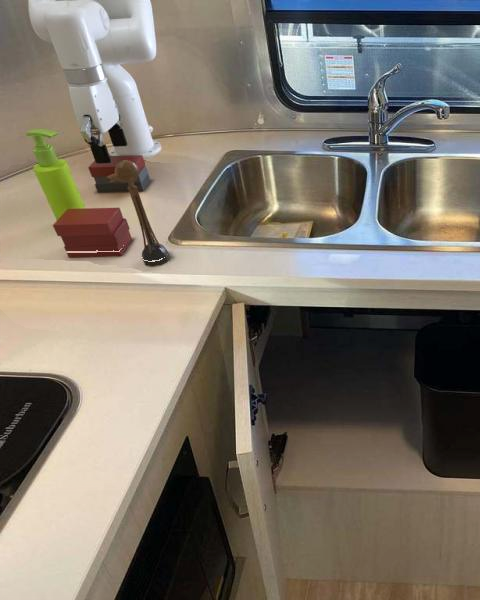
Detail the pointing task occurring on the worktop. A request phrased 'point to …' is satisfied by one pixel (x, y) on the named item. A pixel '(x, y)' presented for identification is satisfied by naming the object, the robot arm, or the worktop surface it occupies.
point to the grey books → (119, 186)
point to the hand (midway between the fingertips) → (112, 154)
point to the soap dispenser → (54, 175)
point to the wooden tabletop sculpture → (140, 214)
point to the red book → (114, 165)
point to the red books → (93, 231)
